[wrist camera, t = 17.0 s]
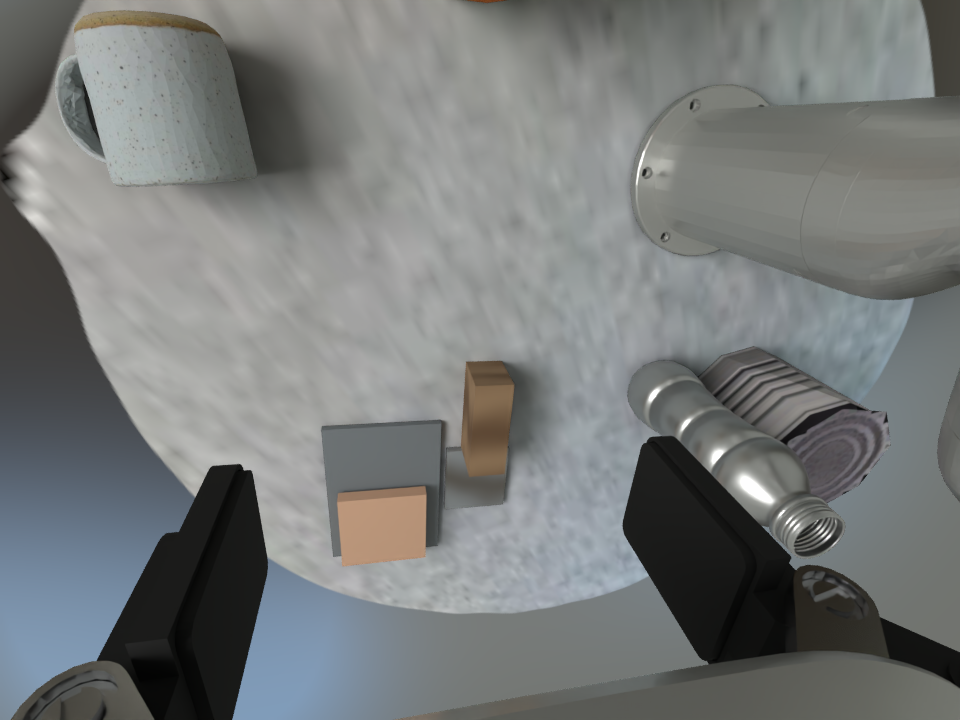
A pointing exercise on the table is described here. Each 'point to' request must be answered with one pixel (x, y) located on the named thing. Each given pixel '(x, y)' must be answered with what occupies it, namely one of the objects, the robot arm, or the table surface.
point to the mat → (383, 465)
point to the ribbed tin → (802, 417)
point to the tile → (382, 525)
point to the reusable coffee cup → (486, 1)
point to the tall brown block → (481, 439)
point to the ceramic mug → (155, 100)
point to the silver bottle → (737, 457)
